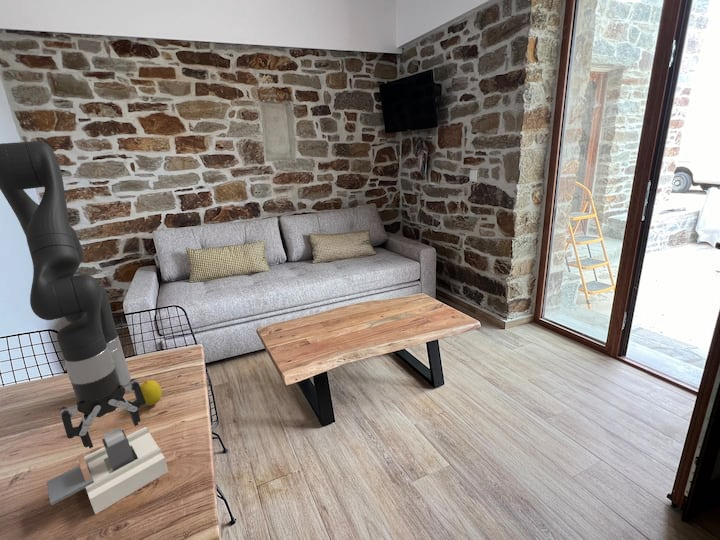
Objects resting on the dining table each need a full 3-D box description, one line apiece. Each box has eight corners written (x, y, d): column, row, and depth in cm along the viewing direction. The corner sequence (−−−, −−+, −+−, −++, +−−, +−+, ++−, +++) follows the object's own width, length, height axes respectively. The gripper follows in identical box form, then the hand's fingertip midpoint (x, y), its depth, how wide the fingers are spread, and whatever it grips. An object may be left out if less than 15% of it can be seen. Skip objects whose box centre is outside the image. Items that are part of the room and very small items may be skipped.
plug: (112, 471, 84) (100, 435, 80) (132, 460, 86) (121, 425, 83) (117, 481, 81) (104, 444, 78) (137, 470, 83) (126, 434, 80)
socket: (82, 473, 84) (75, 456, 82) (149, 439, 93) (144, 423, 91) (95, 514, 74) (88, 495, 73) (168, 471, 83) (163, 454, 82)
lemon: (155, 412, 103) (148, 387, 100) (138, 410, 104) (130, 386, 101) (168, 399, 108) (162, 375, 105) (152, 397, 109) (145, 374, 106)
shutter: (47, 484, 77) (41, 470, 75) (87, 463, 81) (82, 450, 80) (51, 505, 72) (45, 491, 71) (94, 482, 76) (89, 469, 75)
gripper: (127, 350, 82) (144, 409, 88) (45, 379, 73) (70, 444, 78) (136, 363, 77) (154, 425, 83) (50, 396, 68) (77, 464, 73)
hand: (113, 434), depth 81 cm, fingers open, 8 cm apart
